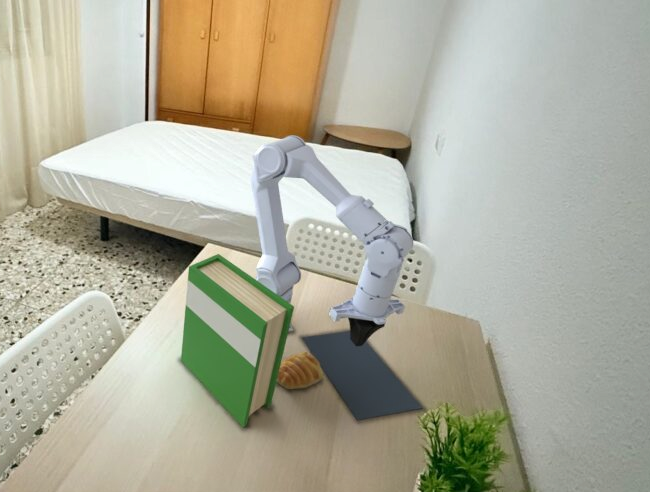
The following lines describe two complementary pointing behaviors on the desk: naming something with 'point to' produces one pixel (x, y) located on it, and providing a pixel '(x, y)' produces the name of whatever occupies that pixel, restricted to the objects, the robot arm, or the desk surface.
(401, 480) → the desk surface
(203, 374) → the hardback book
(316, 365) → the pastry
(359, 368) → the napkin
